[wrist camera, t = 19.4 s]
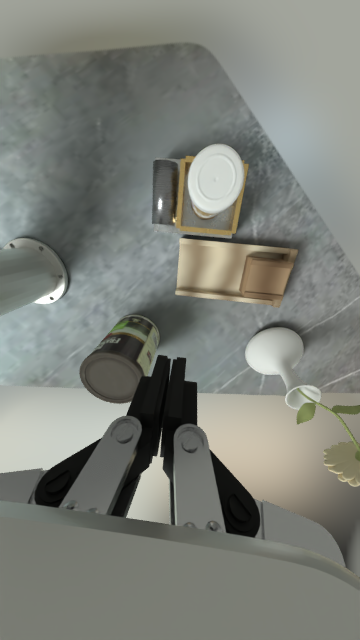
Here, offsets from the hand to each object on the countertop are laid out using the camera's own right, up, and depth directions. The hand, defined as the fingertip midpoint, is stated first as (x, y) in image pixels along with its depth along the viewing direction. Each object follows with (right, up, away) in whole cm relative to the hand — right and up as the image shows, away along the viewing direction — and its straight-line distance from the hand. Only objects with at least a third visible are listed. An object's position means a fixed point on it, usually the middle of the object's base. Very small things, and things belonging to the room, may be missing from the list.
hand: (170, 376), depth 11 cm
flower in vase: (+21, -2, +30) cm, 36 cm away
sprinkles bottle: (+4, +20, +16) cm, 26 cm away
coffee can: (-9, 0, +31) cm, 32 cm away
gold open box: (+3, +22, +19) cm, 30 cm away
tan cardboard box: (+15, +11, +22) cm, 29 cm away
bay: (+9, +12, +23) cm, 28 cm away
